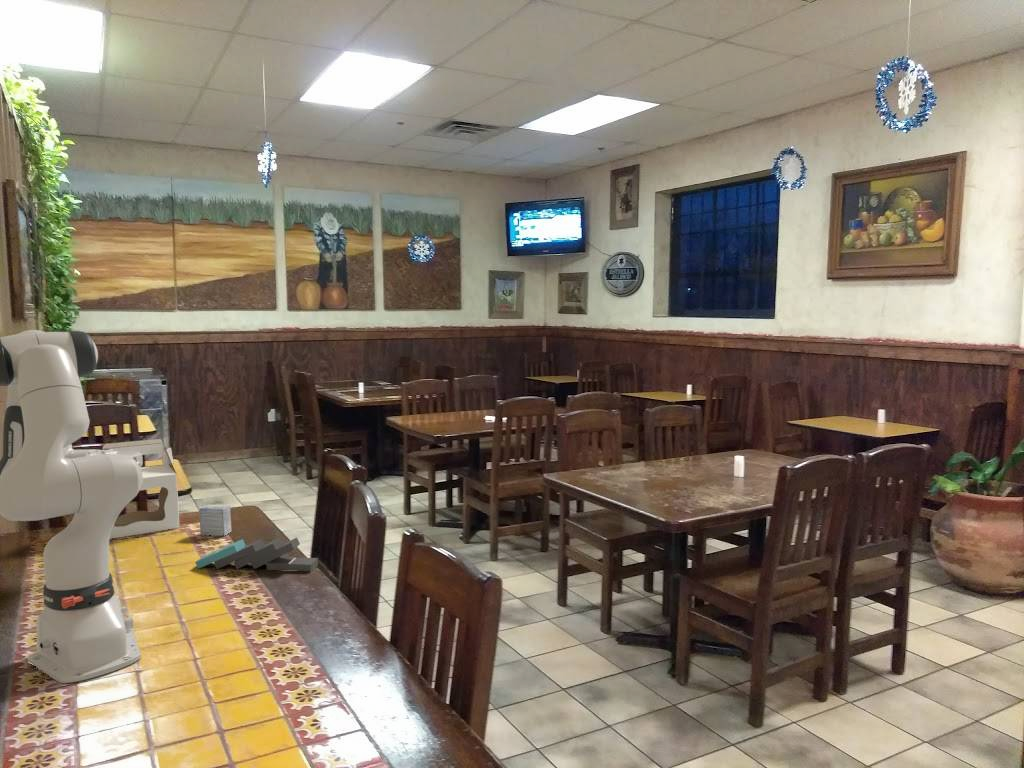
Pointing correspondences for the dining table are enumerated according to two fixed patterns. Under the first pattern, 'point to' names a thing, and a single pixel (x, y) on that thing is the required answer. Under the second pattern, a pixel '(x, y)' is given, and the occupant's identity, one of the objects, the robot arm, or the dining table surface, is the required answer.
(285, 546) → the black domino
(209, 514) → the medicine box
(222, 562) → the black domino
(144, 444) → the gable box
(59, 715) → the dining table surface
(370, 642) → the dining table surface
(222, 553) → the teal domino
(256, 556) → the black domino
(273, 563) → the black domino
